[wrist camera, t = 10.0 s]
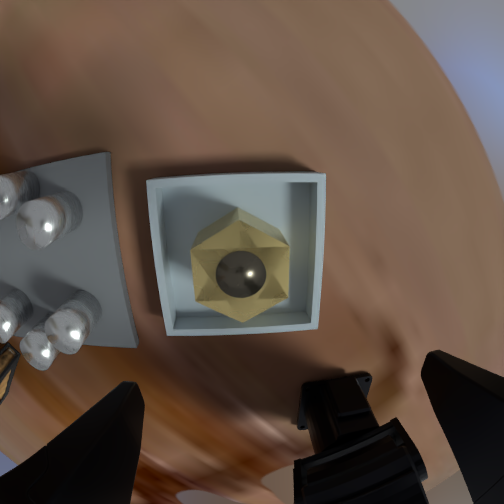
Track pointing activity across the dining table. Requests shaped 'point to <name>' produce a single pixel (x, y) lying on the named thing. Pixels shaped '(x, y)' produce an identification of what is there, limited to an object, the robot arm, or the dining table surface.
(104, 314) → the spacer board
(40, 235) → the spacer posts
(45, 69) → the dining table surface
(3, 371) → the ammunition clip
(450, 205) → the dining table surface
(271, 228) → the brass nut
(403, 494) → the robot arm
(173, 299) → the tray
